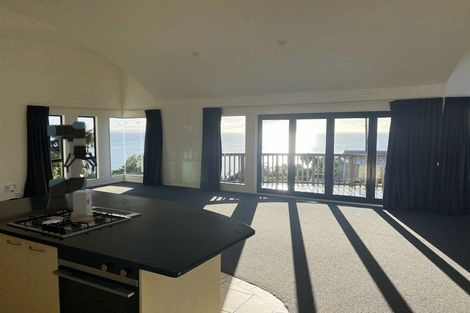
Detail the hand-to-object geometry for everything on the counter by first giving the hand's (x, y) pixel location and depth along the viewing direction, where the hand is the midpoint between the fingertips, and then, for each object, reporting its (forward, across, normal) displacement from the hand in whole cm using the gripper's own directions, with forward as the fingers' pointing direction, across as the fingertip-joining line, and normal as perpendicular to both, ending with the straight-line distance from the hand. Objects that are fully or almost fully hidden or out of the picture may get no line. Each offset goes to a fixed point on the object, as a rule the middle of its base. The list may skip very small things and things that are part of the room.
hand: (81, 177), depth 223 cm
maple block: (+29, 0, -1) cm, 29 cm away
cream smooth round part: (+28, -18, -3) cm, 34 cm away
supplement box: (+24, 0, 0) cm, 24 cm away
